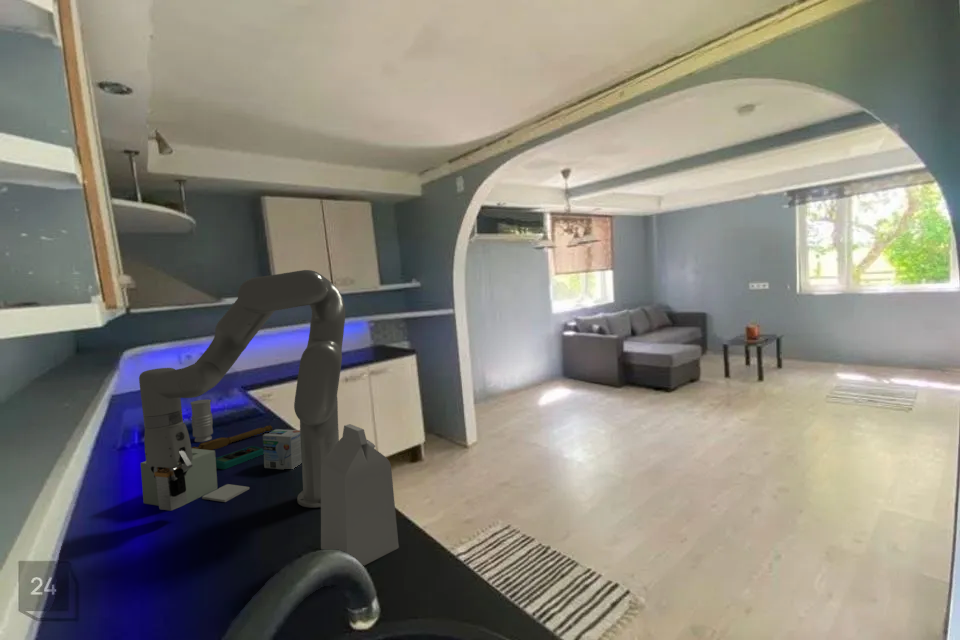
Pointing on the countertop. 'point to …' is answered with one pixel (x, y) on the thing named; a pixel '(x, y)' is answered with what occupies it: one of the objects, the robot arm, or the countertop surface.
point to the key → (167, 491)
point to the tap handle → (230, 439)
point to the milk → (357, 499)
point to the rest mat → (225, 493)
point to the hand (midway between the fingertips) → (172, 492)
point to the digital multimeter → (238, 457)
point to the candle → (201, 420)
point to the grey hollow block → (186, 477)
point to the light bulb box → (282, 449)
